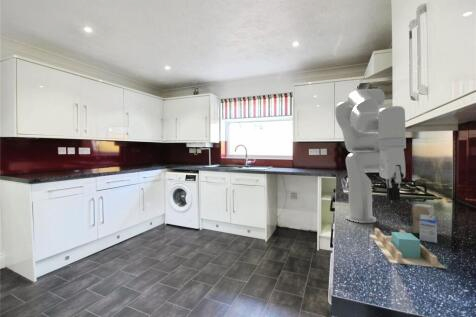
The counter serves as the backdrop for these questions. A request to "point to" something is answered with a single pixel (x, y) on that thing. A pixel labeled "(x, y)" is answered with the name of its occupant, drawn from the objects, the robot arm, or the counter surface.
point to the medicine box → (428, 228)
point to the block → (406, 244)
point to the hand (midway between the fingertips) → (393, 199)
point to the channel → (396, 255)
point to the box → (417, 211)
